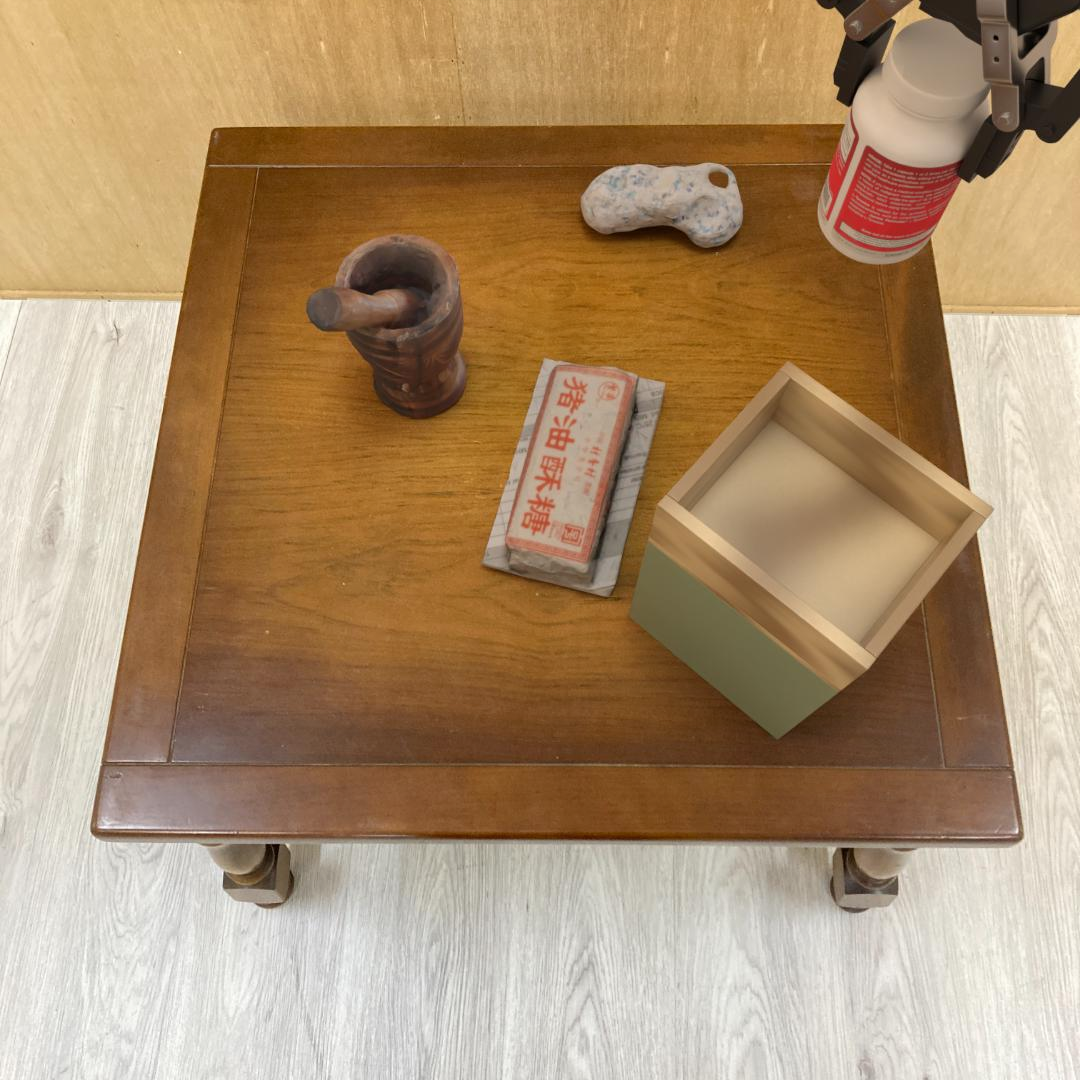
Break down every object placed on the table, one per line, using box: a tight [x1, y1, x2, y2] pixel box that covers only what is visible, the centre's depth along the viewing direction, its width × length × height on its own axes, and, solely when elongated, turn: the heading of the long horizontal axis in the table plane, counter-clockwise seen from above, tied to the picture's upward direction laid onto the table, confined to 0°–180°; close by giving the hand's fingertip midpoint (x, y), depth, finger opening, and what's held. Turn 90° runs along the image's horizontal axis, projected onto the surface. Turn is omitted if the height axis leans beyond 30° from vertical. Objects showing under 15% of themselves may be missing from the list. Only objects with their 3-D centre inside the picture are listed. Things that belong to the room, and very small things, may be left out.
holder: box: [647, 360, 995, 693], centre depth 57 cm, size 14×12×6 cm
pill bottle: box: [817, 17, 991, 265], centre depth 49 cm, size 6×6×11 cm
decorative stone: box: [580, 162, 744, 249], centre depth 84 cm, size 13×7×5 cm, turn 94°
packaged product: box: [481, 357, 666, 598], centre depth 76 cm, size 18×5×10 cm
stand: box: [627, 540, 840, 740], centre depth 67 cm, size 14×12×16 cm
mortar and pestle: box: [305, 233, 467, 419], centre depth 71 cm, size 12×9×20 cm
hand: (912, 129), depth 48 cm, fingers closed on pill bottle, 6 cm apart
